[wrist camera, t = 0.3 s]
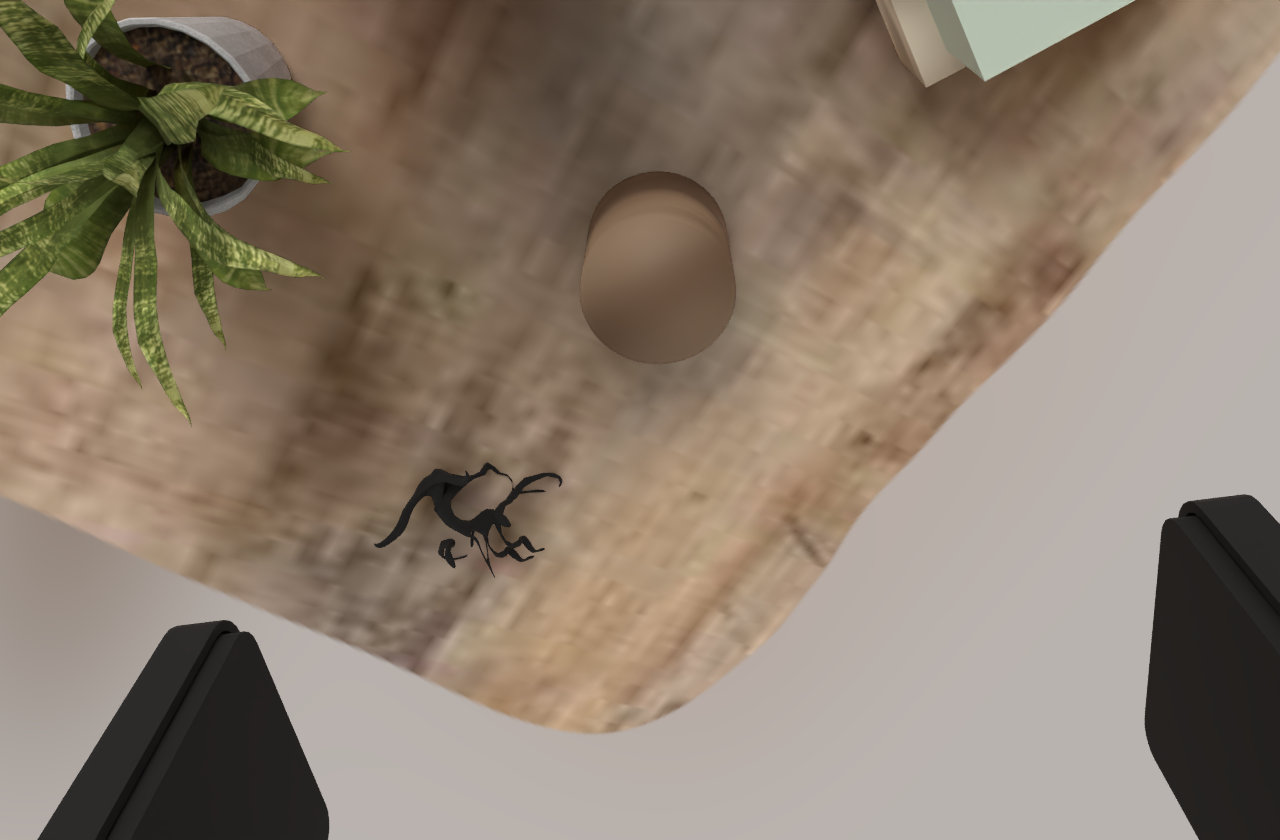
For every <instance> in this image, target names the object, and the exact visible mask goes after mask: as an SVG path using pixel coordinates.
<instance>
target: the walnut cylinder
mask: <svg viewBox="0 0 1280 840" xmlns="http://www.w3.org/2000/svg"><path fill="white" fill-rule="evenodd" d="M735 298H736V285H735V277H734V271H733V265H732V260H731V254H730V248H729V242H728V236H727V230H726V224H725V221H724V217H723V214H722V212H721V210H720V208H719V206H718V204H717V203H716V201H715V200H714V198H713V197H712V196H711V195H710V194H709V193H708V192H707V191H706V190H705V189H704V188H703V187H702V186H700V185H699V184H697V183H696V182H694V181H692V180H691V179H689V178H687V177H684V176H681V175H678V174H674V173H670V172H647V173H641V174H638V175H635V176H632V177H629V178H627V179H625V180H623V181H622V182H620V183H618V184H617V185H615V186H614V187H613V188H612V189H610V190H609V191H608V192H607V193H606V194H605V196H604V197H603V198H602V199H601V201H600V202H599V204H598V205H597V207H596V209H595V211H594V213H593V216H592V219H591V222H590V227H589V232H588V238H587V245H586V251H585V257H584V263H583V269H582V276H581V282H580V301H581V306H582V311H583V313H584V316H585V319H586V321H587V323H588V325H589V326H590V328H591V330H592V331H593V332H594V334H595V335H596V336H597V337H598V338H599V340H600V341H601V342H602V343H604V344H605V345H606V346H607V347H608V348H610V349H611V350H613V351H614V352H616V353H617V354H619V355H622V356H624V357H626V358H628V359H631V360H634V361H638V362H643V363H652V364H665V363H672V362H677V361H681V360H684V359H687V358H689V357H692V356H694V355H696V354H698V353H699V352H701V351H703V350H704V349H706V348H707V347H708V346H710V345H711V344H712V343H713V342H714V341H715V340H716V339H717V338H718V337H719V336H720V334H721V333H722V332H723V330H724V329H725V327H726V326H727V324H728V322H729V320H730V318H731V315H732V312H733V309H734V305H735Z"/></svg>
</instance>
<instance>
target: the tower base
mask: <svg viewBox="0 0 1280 840" xmlns="http://www.w3.org/2000/svg"><path fill="white" fill-rule="evenodd" d="M875 1H876V3H877V5H878V8H879V10H880V13H881V15H882V17H883V20H884V22H885V25H886V27H887V30H888V32H889V34H890V37H891V39H892V42H893V44H894V47H895V49H896V51H897V54H898V56H899V59H900V61H901V62H902V63H903V64H904V65H905V66H906V67H907V68H908V69H909V70H910V71H911V72H912V74H913V75H914V76H915V77H916V78H917V79H918V80H919V81H920V82H921V83H922V84H923V85H924V86H925V87H926V88H927V87H929V86H931V85H933V84H934V83H936V82H938V81H940V80H942V79H944V78H946V77H948V76H950V75H952V74H954V73H956V72H958V71H959V70H961V69H963V68H965V67H967V66H965V65H964V64H963V63H962V62H961V61H959V60H958V59H957V58H956V57H954V56H953V55H952V54H951V53H950V52H948V51H947V50H946V47H945V45H944V43H943V40H942V38H941V36H940V33H939V31H938V28H937V26H936V24H935V21H934V19H933V16H932V14H931V12H930V9H929V7H928V5H927V2H926V0H875Z"/></svg>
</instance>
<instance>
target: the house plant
mask: <svg viewBox="0 0 1280 840" xmlns="http://www.w3.org/2000/svg"><path fill="white" fill-rule="evenodd" d="M115 1H116V0H64V3H65V5H66V7H67V8H68V10H69V11H70V13H71V14H72V16H73V18H74V19H75V20H76V21H77V22H78V23H79V24H80V25H81V27H82V30H81V32H80V35H79V38H78V41H77V50H75V49H74V48H73V46H72V45H71V44H70V42H69V41H68V40H67V38H66V37H65V36H64V34H63V33H62V32H61V30H60V29H59V28H58V27H57V26H55V25H54V24H52V23H51V22H50V21H48V20H47V19H45V18H44V17H42V16H41V15H39V14H38V13H37V12H35V11H34V10H33V9H32V8H30V7H29V6H28V5H27V4H25V3H24V2H23V1H21V0H0V27H1V28H2V29H3V30H4V32H5V33H6V34H7V35H8V37H9V38H10V39H11V40H12V41H13V43H14V44H15V45H16V46H17V47H18V49H19V50H20V51H21V53H22V54H23V55H24V57H25V58H26V59H27V60H28V61H29V62H30V63H31V64H32V65H34V66H35V67H36V68H37V69H38V70H39V71H40V72H42V73H44V74H46V75H48V76H51V77H53V78H55V79H57V80H60V81H62V82H64V83H66V99H63V98H58V97H52V96H47V95H41V94H36V93H30V92H26V91H23V90H19V89H16V88H13V87H9V86H6V85H3V84H0V123H9V124H21V125H39V126H65V125H70V126H71V129H72V132H73V136H74V139H72V140H68V141H64V142H60V143H56V144H52V145H50V146H47V147H45V148H42V149H40V150H37V151H34V152H32V153H30V154H28V155H26V156H23V157H21V158H19V159H17V160H15V161H13V162H10V163H8V164H5V165H3V166H0V216H1V215H3V214H4V213H6V212H7V211H9V210H11V209H12V208H15V207H17V206H19V205H21V204H24V203H26V202H28V201H30V200H33V199H35V198H37V197H39V196H41V195H43V194H45V193H47V192H49V191H51V190H52V191H51V193H50V194H49V196H48V197H47V199H46V200H45V205H44V210H43V211H41V212H39V213H37V214H36V215H34V216H32V217H30V218H28V219H25V220H23V221H21V222H19V223H17V224H15V225H13V226H11V227H9V228H7V229H4V230H2V231H0V257H2V256H5V255H7V254H9V253H12V252H14V251H16V250H19V249H21V248H23V247H25V246H26V247H25V248H24V249H23V250H22V251H21V252H20V253H19V254H18V255H17V256H16V257H14V258H13V259H12V260H11V261H10V262H9V263H8V264H7V265H6V266H5V267H4V268H3V269H2V270H1V271H0V317H1V316H2V315H3V314H4V313H5V312H6V311H7V310H8V309H9V308H10V307H11V306H12V305H13V304H14V303H15V302H16V301H18V300H19V299H20V298H21V297H22V296H23V295H25V294H26V293H27V292H28V291H29V290H30V289H31V288H32V287H33V286H34V285H35V284H37V283H38V282H39V281H40V280H41V279H42V278H43V277H44V276H45V275H46V274H47V273H48V272H52V273H55V274H58V275H61V276H64V277H67V278H70V279H73V280H75V279H81V278H86V277H88V276H89V275H90V274H92V273H93V272H94V271H95V270H96V268H97V266H98V265H99V263H100V261H101V258H102V256H103V253H104V250H105V248H106V245H107V243H108V241H109V238H110V236H111V234H112V232H113V231H114V229H115V228H116V227H117V225H118V224H119V222H120V221H121V219H122V218H123V217H124V215H125V214H126V212H127V211H128V210H129V208H130V210H129V213H128V217H127V222H126V227H125V232H124V238H123V247H122V255H121V261H120V266H119V272H118V277H117V283H116V289H115V296H114V303H113V333H114V336H115V339H116V343H117V346H118V348H119V350H120V352H121V355H122V357H123V359H124V361H125V364H126V366H127V368H128V370H129V372H130V374H131V375H132V376H133V378H134V379H135V380H136V381H137V382H138V384H139V385H140V386H141V382H140V380H139V377H138V374H137V371H136V368H135V364H134V361H133V358H132V355H131V350H130V345H129V339H128V331H127V316H126V306H127V296H128V289H129V284H130V278H131V271H132V262H133V253H134V246H135V266H134V319H135V326H136V332H137V339H138V344H139V346H140V348H141V350H142V352H143V354H144V356H145V358H146V360H147V362H148V364H149V365H150V367H151V369H152V370H153V372H154V373H155V375H156V376H157V378H158V380H159V381H160V383H161V385H162V387H163V389H164V391H165V392H166V394H167V396H168V397H169V399H170V400H171V402H172V403H173V405H174V406H175V407H176V408H177V409H178V410H179V411H180V412H181V413H182V414H183V415H184V416H185V417H186V418H187V419H188V420H189V421H190V424H191V420H190V417H189V414H188V412H187V410H186V407H185V405H184V403H183V401H182V398H181V395H180V392H179V390H178V387H177V385H176V382H175V380H174V378H173V375H172V373H171V370H170V367H169V364H168V361H167V357H166V354H165V350H164V346H163V343H162V339H161V335H160V330H159V323H158V316H157V309H156V285H157V257H156V249H155V242H154V213H159V214H163V215H167V216H170V217H171V218H172V220H173V221H174V223H175V224H176V226H177V227H178V228H179V230H180V231H181V232H182V233H183V235H184V236H185V237H186V238H187V239H188V241H189V242H190V250H191V258H192V273H193V283H194V293H195V295H196V298H197V300H198V302H199V305H200V307H201V309H202V310H203V312H204V314H205V316H206V318H207V320H208V322H209V325H210V327H211V329H212V331H213V332H214V334H215V335H216V336H217V337H218V338H219V339H220V341H221V342H222V343H223V344H224V345H225V350H226V343H225V338H224V335H223V331H222V326H221V322H220V318H219V314H218V310H217V303H216V297H215V290H214V281H213V274H215V275H216V276H217V277H218V278H219V279H220V280H221V281H222V282H224V283H226V284H228V285H230V286H233V287H235V288H240V289H245V290H261V291H264V290H271V289H269V288H267V287H266V285H265V282H264V279H263V275H262V272H261V271H260V270H263V271H267V272H271V273H276V274H280V275H285V276H290V277H306V276H319V277H321V276H320V275H319V274H317V273H315V272H314V271H312V270H310V269H307V268H305V267H303V266H300V265H298V264H296V263H293V262H291V261H289V260H287V259H285V258H283V257H280V256H278V255H275V254H272V253H269V252H267V251H264V250H261V249H259V248H257V247H254V246H252V245H250V244H248V243H245V242H243V241H241V240H239V239H237V238H235V237H234V236H232V235H231V234H229V233H228V232H226V231H225V230H224V229H222V228H221V227H220V226H219V225H218V224H216V223H215V222H214V221H213V219H212V218H211V217H210V216H212V215H215V214H218V213H222V212H225V211H227V210H229V209H230V208H232V207H233V206H235V205H236V204H238V203H239V202H241V201H242V200H244V199H245V198H246V197H247V196H248V195H249V193H250V192H251V191H252V190H253V188H254V187H255V186H256V184H257V183H258V182H259V181H276V180H279V179H282V178H286V179H294V180H298V181H301V182H305V183H310V184H319V183H329V184H331V183H330V182H328V181H327V180H325V179H323V178H321V177H318V176H316V175H314V174H312V173H310V172H308V171H306V170H304V169H302V168H304V167H306V166H307V165H309V164H311V163H312V162H314V161H316V160H317V159H319V158H321V157H323V156H325V155H328V154H330V153H333V152H349V151H343V150H342V149H340V148H338V147H337V146H335V145H334V144H333V143H331V142H330V141H328V140H327V139H326V138H324V137H322V136H320V135H317V134H315V133H312V132H310V131H308V130H305V129H303V128H301V127H299V126H296V125H294V124H292V123H290V122H288V121H287V120H288V119H290V118H292V117H294V116H295V115H296V114H298V113H299V112H300V111H301V110H302V109H304V108H305V107H306V106H307V105H309V104H310V103H311V102H312V101H313V100H315V99H316V98H317V97H318V96H320V95H322V94H324V93H326V92H320V91H314V90H312V89H310V88H308V87H306V86H304V85H301V84H299V83H297V82H295V81H293V80H291V75H290V72H289V70H288V67H287V65H286V63H285V61H284V59H283V57H282V55H281V54H280V53H279V51H278V50H277V49H276V47H275V46H274V45H273V43H272V42H271V41H270V40H269V39H268V38H266V37H265V36H264V35H263V34H262V33H261V32H259V31H258V30H257V29H255V28H253V27H251V26H249V25H247V24H245V23H244V22H242V21H239V20H235V19H231V18H227V17H152V18H128V19H125V20H122V21H119V22H117V21H116V20H115V18H114V16H113V14H112V12H111V10H110V9H111V8H112V6H113V5H114V3H115ZM317 149H319V150H325V151H331V152H323V151H319V150H317ZM331 185H332V184H331ZM321 278H323V277H321ZM323 279H324V278H323ZM141 389H142V386H141ZM191 427H192V426H191Z"/></svg>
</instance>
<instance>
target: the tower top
mask: <svg viewBox="0 0 1280 840" xmlns="http://www.w3.org/2000/svg"><path fill="white" fill-rule="evenodd" d="M1133 1H1135V0H926V2H927V5H928V7H929V9H930V12H931V14H932V16H933V19H934V21H935V24H936V26H937V28H938V31H939V33H940V36H941V38H942V40H943V43H944V45H945V47H946V50H947V51H948V52H950V53H951V54H952V55H953V56H954V57H956V58H957V59H958V60H959V61H961V62H962V63H963V64H964V65H965V66H967V67H968V68H969V69H970V70H971V71H973V72H974V73H975V74H976V75H978V76H979V77H980V78H981V79H982V80H984V81H987V80H989V79H990V78H992V77H994V76H996V75H998V74H1000V73H1002V72H1003V71H1005V70H1007V69H1009V68H1011V67H1013V66H1015V65H1016V64H1018V63H1020V62H1022V61H1024V60H1026V59H1027V58H1029V57H1031V56H1033V55H1035V54H1037V53H1039V52H1040V51H1042V50H1044V49H1046V48H1048V47H1050V46H1051V45H1053V44H1055V43H1057V42H1059V41H1061V40H1063V39H1064V38H1066V37H1068V36H1070V35H1072V34H1074V33H1076V32H1077V31H1079V30H1081V29H1083V28H1085V27H1087V26H1088V25H1090V24H1092V23H1094V22H1096V21H1098V20H1100V19H1101V18H1103V17H1105V16H1107V15H1109V14H1111V13H1113V12H1114V11H1116V10H1118V9H1120V8H1122V7H1124V6H1125V5H1127V4H1129V3H1131V2H1133Z"/></svg>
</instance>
